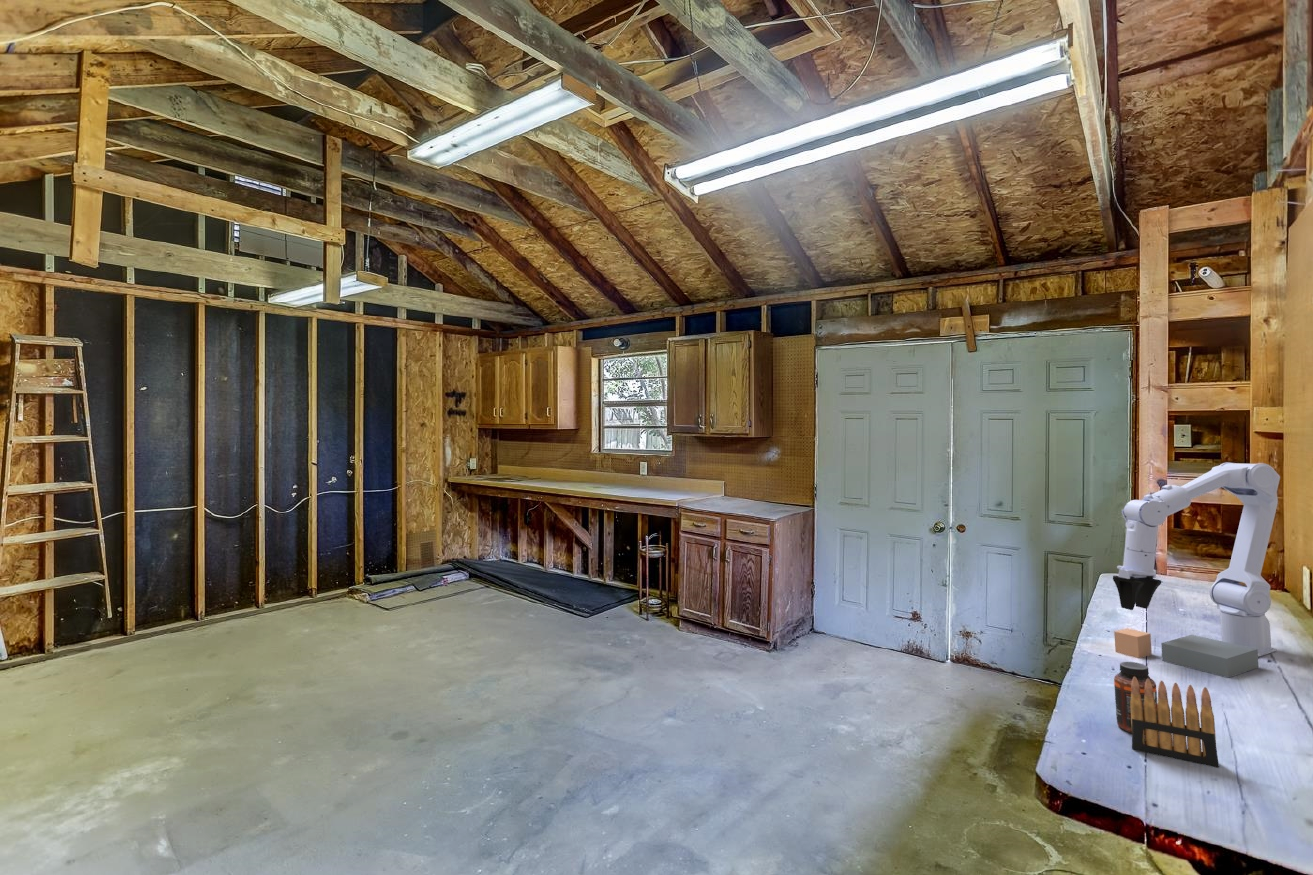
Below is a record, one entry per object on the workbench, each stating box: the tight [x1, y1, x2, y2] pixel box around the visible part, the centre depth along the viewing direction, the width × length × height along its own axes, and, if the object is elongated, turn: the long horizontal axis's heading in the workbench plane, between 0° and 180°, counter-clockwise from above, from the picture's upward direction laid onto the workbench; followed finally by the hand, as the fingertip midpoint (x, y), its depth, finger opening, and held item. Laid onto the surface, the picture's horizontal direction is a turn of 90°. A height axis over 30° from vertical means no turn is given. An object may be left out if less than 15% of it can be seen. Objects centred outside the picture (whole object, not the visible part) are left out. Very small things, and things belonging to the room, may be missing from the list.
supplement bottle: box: [1113, 661, 1159, 734], centre depth 108 cm, size 6×6×11 cm
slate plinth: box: [1161, 634, 1260, 678], centre depth 136 cm, size 12×12×4 cm
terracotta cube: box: [1113, 627, 1153, 659], centre depth 145 cm, size 5×5×5 cm
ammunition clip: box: [1130, 676, 1220, 769], centre depth 99 cm, size 11×2×12 cm, turn 52°
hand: (1134, 608), depth 144 cm, fingers open, 7 cm apart
